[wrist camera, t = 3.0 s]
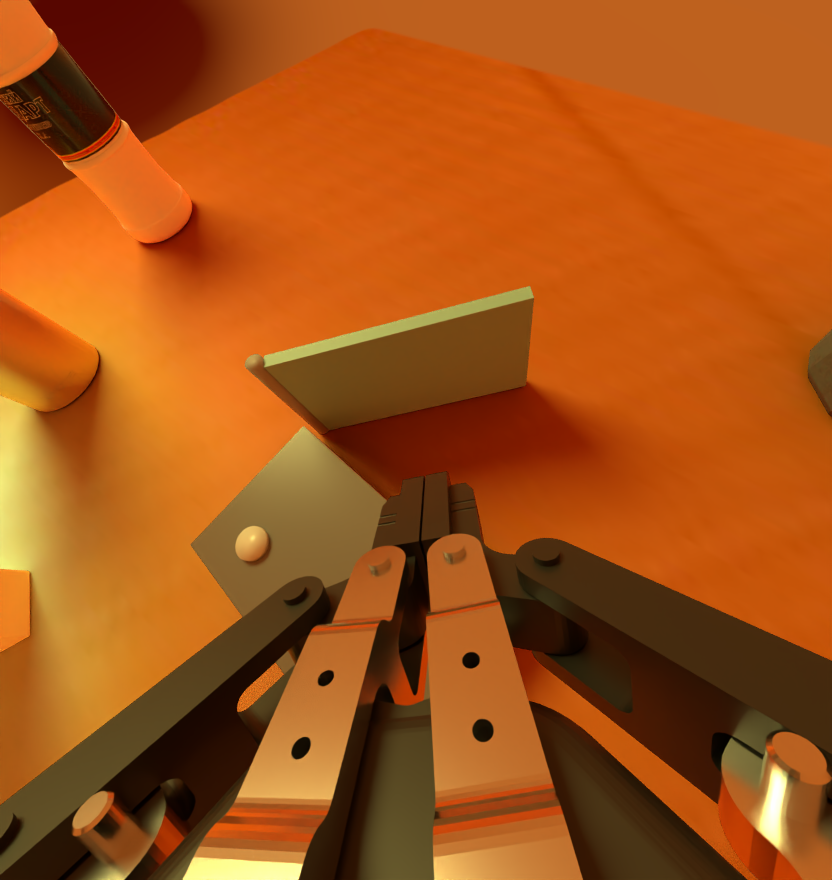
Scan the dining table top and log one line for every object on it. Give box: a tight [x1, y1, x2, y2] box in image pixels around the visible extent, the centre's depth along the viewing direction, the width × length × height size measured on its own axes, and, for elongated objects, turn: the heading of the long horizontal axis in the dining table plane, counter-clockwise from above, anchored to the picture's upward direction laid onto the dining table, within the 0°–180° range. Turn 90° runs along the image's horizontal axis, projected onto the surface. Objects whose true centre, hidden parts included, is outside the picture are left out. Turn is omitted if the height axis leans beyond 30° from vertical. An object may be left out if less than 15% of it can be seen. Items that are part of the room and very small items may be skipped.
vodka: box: [0, 0, 192, 243], centre depth 38 cm, size 9×9×30 cm
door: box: [245, 286, 534, 434], centre depth 28 cm, size 18×1×10 cm, turn 98°
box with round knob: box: [191, 426, 430, 700], centre depth 26 cm, size 22×12×4 cm, turn 48°
